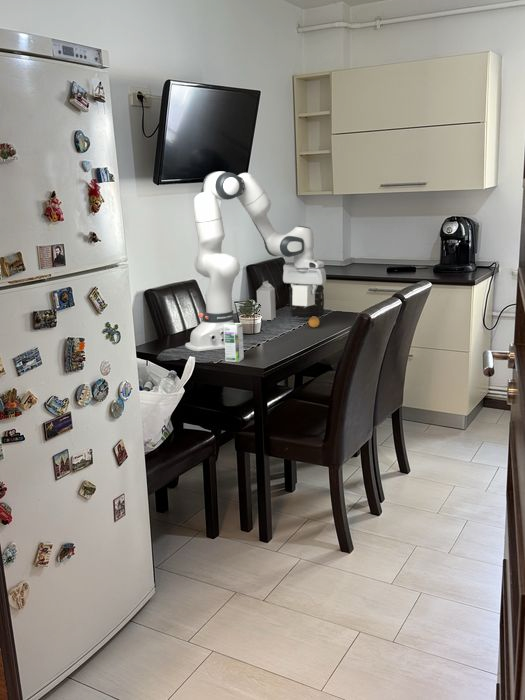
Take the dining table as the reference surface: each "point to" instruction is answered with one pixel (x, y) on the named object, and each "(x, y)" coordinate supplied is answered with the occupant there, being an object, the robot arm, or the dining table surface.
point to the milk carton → (266, 301)
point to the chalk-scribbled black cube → (309, 310)
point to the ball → (313, 321)
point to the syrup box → (233, 342)
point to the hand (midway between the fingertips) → (304, 293)
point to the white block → (303, 295)
